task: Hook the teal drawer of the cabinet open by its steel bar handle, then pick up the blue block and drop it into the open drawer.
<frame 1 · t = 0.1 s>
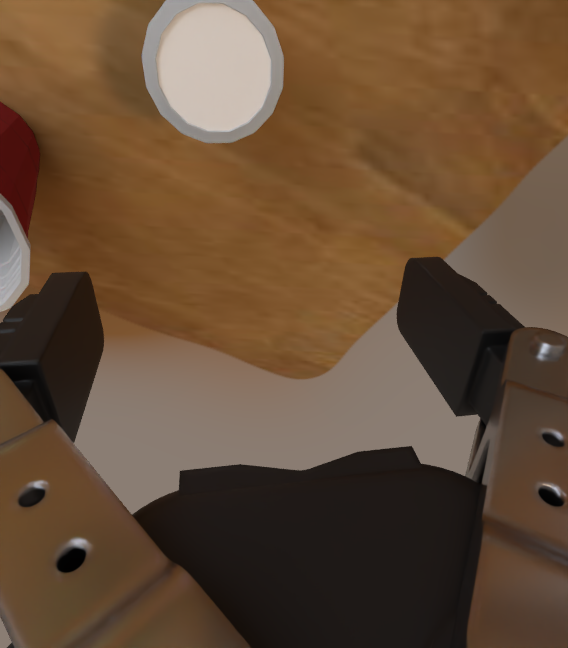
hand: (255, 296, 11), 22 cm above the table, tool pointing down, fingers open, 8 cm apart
white faceted cylinder: (211, 45, 27), on the table
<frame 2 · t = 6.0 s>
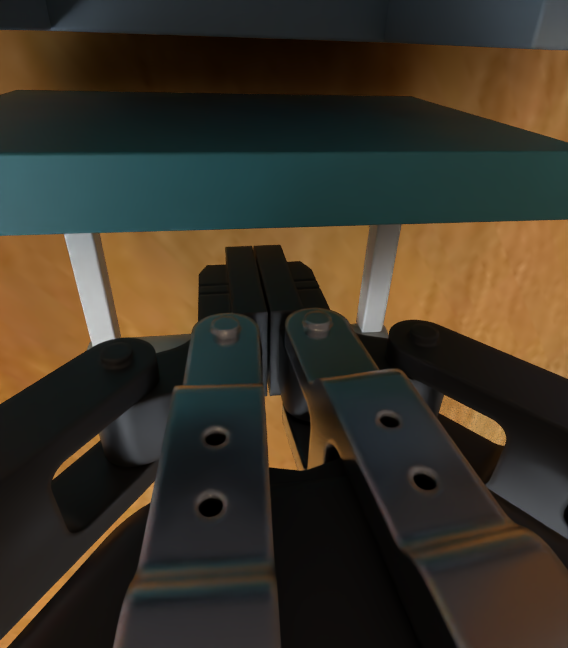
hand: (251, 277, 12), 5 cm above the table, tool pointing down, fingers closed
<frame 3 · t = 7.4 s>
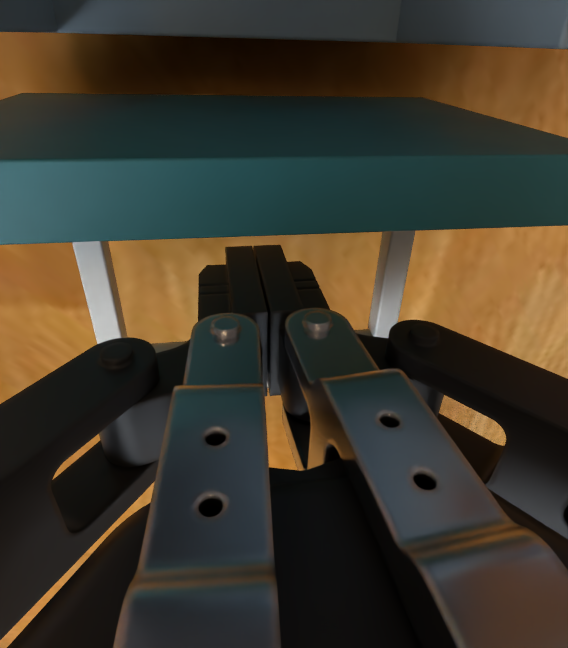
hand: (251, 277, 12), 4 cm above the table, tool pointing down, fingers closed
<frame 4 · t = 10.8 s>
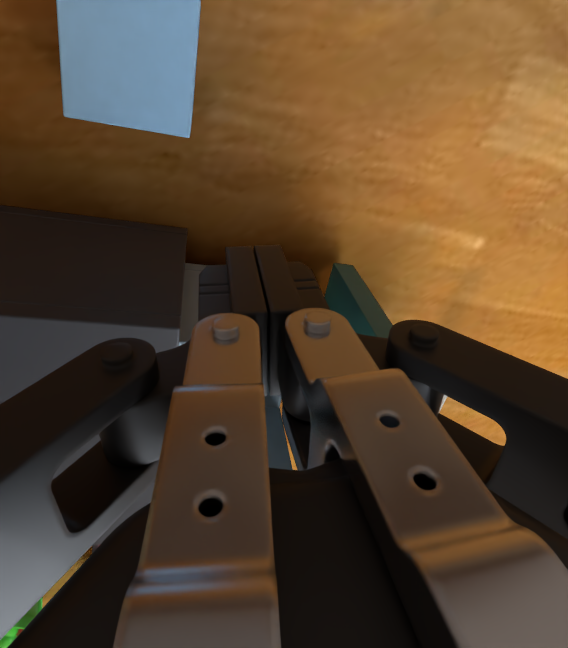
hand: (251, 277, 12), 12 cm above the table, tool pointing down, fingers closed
drawer: (275, 384, 24), point 5 cm above the table, slide at 8.1 cm
blue block: (144, 54, 19), on the table
cabinet: (46, 318, 25), on the table
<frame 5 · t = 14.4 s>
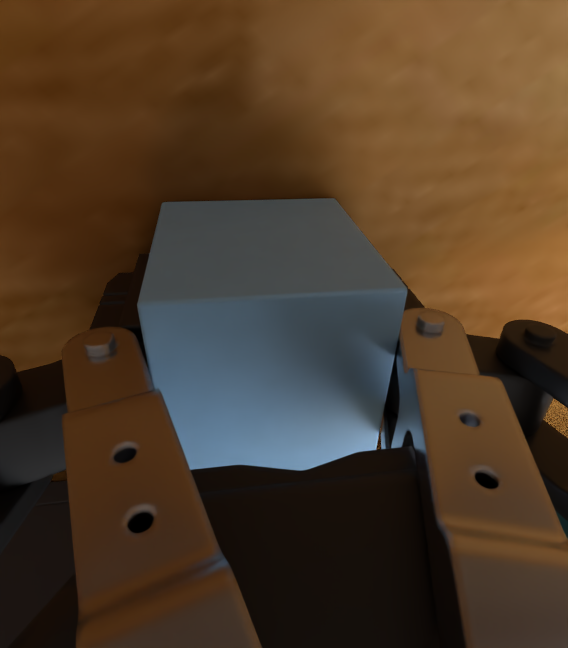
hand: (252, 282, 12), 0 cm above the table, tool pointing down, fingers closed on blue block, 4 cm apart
blue block: (252, 277, 12), on the table, touching gripper
cabinet: (142, 570, 19), on the table
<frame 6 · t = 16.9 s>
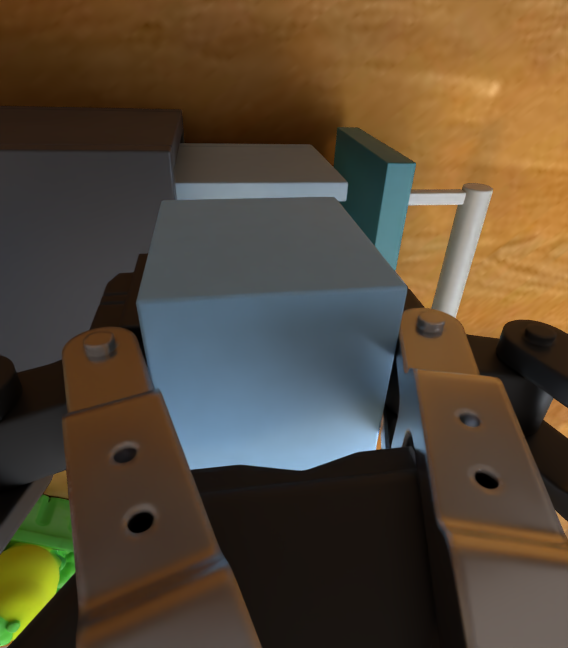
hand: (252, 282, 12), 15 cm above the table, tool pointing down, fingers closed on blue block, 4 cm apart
drawer: (291, 258, 23), point 5 cm above the table, slide at 8.1 cm
fruit basket: (43, 506, 38), on the table
blue block: (251, 275, 12), point 15 cm above the table, touching gripper
cabinet: (60, 229, 25), on the table
when the fingers open (8 cm above the table, at t = 19.6 s): blue block drops 6 cm, resting on drawer.
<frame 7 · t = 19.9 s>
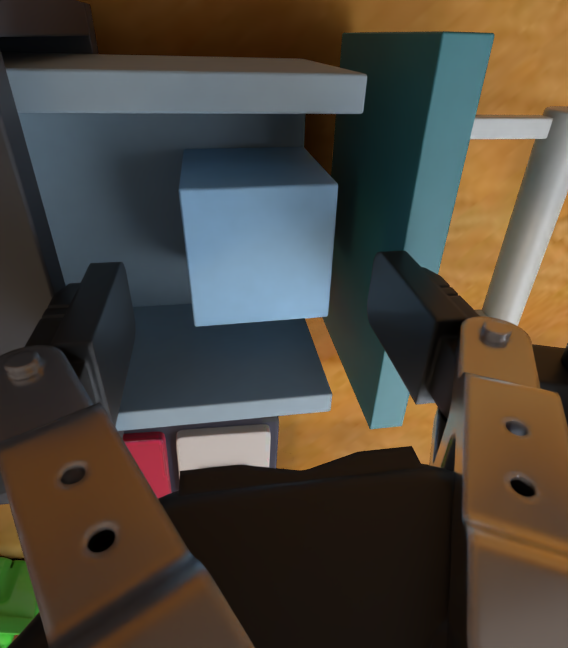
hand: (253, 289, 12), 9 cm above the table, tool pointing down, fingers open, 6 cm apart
drawer: (275, 232, 15), point 5 cm above the table, slide at 8.6 cm, touching blue block
calculator: (181, 472, 28), on the table
blue block: (246, 206, 17), point 2 cm above the table, touching drawer
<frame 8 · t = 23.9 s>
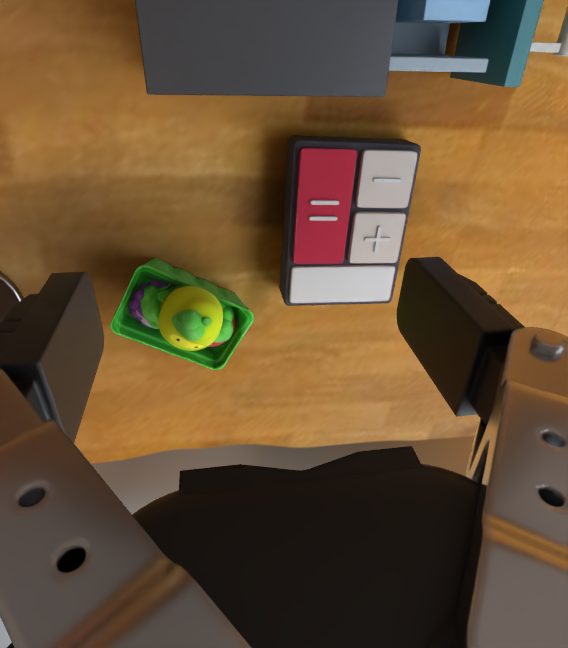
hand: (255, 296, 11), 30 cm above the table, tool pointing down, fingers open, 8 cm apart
calculator: (338, 218, 43), on the table
fruit basket: (187, 290, 45), on the table
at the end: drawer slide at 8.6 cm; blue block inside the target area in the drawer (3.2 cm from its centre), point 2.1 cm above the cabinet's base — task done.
